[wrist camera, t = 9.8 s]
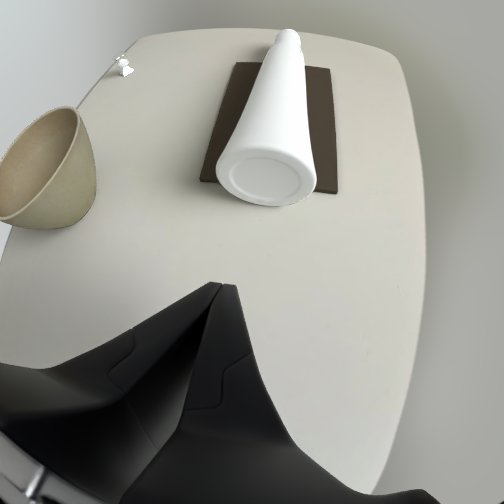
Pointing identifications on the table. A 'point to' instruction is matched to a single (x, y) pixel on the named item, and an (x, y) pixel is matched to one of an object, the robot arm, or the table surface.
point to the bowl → (48, 173)
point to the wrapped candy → (122, 64)
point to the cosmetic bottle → (272, 133)
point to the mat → (318, 122)
